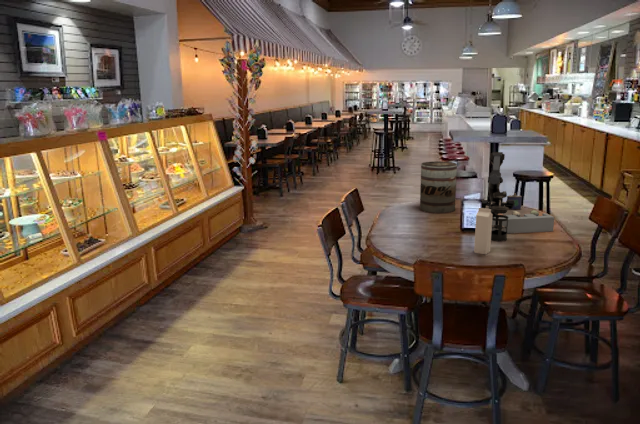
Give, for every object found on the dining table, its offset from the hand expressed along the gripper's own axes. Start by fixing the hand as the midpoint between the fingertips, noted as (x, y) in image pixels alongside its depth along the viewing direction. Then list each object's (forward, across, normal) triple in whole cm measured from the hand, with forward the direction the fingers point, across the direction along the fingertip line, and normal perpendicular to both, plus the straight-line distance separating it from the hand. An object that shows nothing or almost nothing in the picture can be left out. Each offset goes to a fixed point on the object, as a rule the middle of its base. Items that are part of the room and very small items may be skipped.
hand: (498, 217), depth 290 cm
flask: (-28, +22, +37) cm, 51 cm away
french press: (+18, -5, -8) cm, 21 cm away
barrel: (-28, -27, +38) cm, 54 cm away
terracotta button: (+3, +1, -1) cm, 3 cm away
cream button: (-1, +11, +3) cm, 11 cm away
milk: (+34, -18, -24) cm, 46 cm away
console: (+7, +12, +2) cm, 14 cm away
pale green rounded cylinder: (-3, +22, +5) cm, 22 cm away
